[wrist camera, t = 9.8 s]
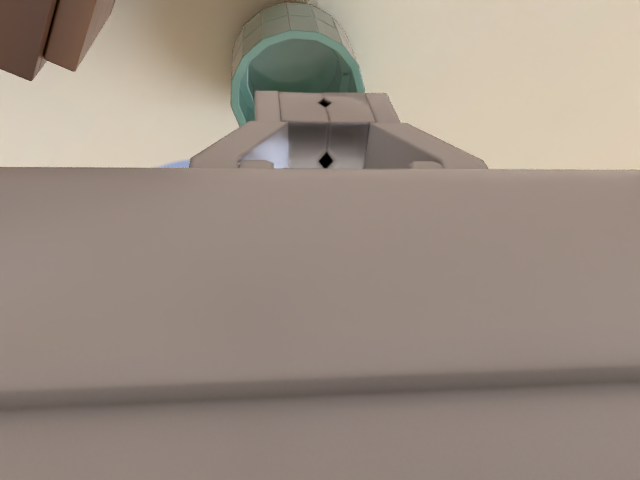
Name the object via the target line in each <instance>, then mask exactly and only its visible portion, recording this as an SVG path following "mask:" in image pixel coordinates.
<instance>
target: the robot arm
mask: <svg viewBox="0 0 640 480" xmlns="http://www.w3.org/2000/svg"><path fill="white" fill-rule="evenodd" d="M0 480H640V170H567V169H488V167H487V165H486V164H485V162H484V161H483V160H481V159H479V158H477V157H475V156H473V155H471V154H469V153H467V152H465V151H463V150H461V149H459V148H457V147H455V146H452V145H450V144H448V143H446V142H444V141H442V140H440V139H438V138H436V137H434V136H432V135H430V134H428V133H426V132H424V131H422V130H420V129H418V128H416V127H414V126H412V125H410V124H408V123H401V122H400V120H399V118H398V116H397V114H396V112H395V110H394V108H393V106H392V104H391V102H390V100H389V97H388V95H387V94H385V93H304V92H278V91H255V121H249V122H247V123H246V124H244V125H243V126H241V127H239V128H238V129H236V130H235V131H233V132H231V133H230V134H228V135H227V136H225V137H224V138H222V139H220V140H219V141H217V142H216V143H214V144H212V145H211V146H209V147H208V148H206V149H205V150H203V151H201V152H200V153H198V154H197V155H195V156H194V157H192V158H191V159H190V165H189V168H95V167H0Z"/></svg>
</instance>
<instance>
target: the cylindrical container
mask: <svg viewBox="0 0 640 480" xmlns="http://www.w3.org/2000/svg"><path fill="white" fill-rule="evenodd" d="M255 91H278V92H304V93H365V88H364V84H363V80H362V76H361V71H360V67H359V64H358V62H357V60H356V57H355V55H354V52H353V50H352V47H351V45H350V42H349V40H348V37H347V35H346V33H345V32H344V31H343V30H342V28H341V27H340V26H339V24H338V23H337V22H336V20H335V19H334V18H333V17H331V15H329V14H327V13H325V12H324V11H322V10H320V9H318V8H316V7H314V6H313V5H310V4H302V3H291V2H286V3H285V2H283V3H280V4H277V5H274V6H271V7H268V8H265V9H262V10H261V11H260V12H259V13H257V14H256V15H255V16H254V17H253V18H252V19H251V20H250V21H249V22H247V23H246V24H245V25H244V27H243V28H242V30H241V32H240V34H239V36H238V39H237V41H236V43H235V45H234V49H233V58H232V75H231V108H232V110H233V112H234V115H235V117H236V119H237V122H238V124H239V127H241V126H243V125H244V124H246V123H247V122H249V121H255Z"/></svg>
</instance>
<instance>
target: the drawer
mask: <svg viewBox="0 0 640 480" xmlns="http://www.w3.org/2000/svg"><path fill="white" fill-rule="evenodd" d="M114 2H115V0H58V3H57V7H56V11H55V15H54V18H53V22H52V26H51V30H50V34H49V37H48V41H47V45H46V49H45V52H44V56H43V57H44V59H45V60H47V61H49V62H52V63H54V64H57V65H59V66H61V67H64V68H66V69H68V70H71V71H76V69H77V68H78V66H79V64H80V63H81V61H82V60H83V58H84V56H85V55H86V53H87V51H88V50H89V48H90V47H91V45H92V43H93V42H94V40H95V38H96V37H97V35H98V34H99V32H100V30H101V29H102V27H103V25H104V24H105V22H106V21H107V19H108V17H109V16H110V14H111V11H112V8H113V5H114Z"/></svg>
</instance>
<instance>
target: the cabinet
mask: <svg viewBox="0 0 640 480" xmlns="http://www.w3.org/2000/svg"><path fill="white" fill-rule="evenodd" d="M57 3H58V0H0V69H2V70H4V71H7V72H9V73H12V74H14V75H17V76H19V77H22V78H24V79H27V80H29V81H32V80H33V79H34V77H35V76H36V75H37V73H38V72H39V71H40V69H41V68H42V67H43V65H44V64H45V63H46V61H47V60H45V59H44V57H43V56H44V52H45V49H46V45H47V41H48V37H49V34H50V30H51V26H52V22H53V18H54V15H55V11H56V7H57Z"/></svg>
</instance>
